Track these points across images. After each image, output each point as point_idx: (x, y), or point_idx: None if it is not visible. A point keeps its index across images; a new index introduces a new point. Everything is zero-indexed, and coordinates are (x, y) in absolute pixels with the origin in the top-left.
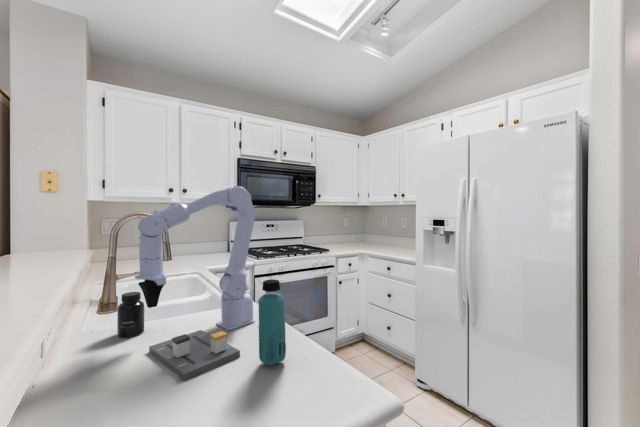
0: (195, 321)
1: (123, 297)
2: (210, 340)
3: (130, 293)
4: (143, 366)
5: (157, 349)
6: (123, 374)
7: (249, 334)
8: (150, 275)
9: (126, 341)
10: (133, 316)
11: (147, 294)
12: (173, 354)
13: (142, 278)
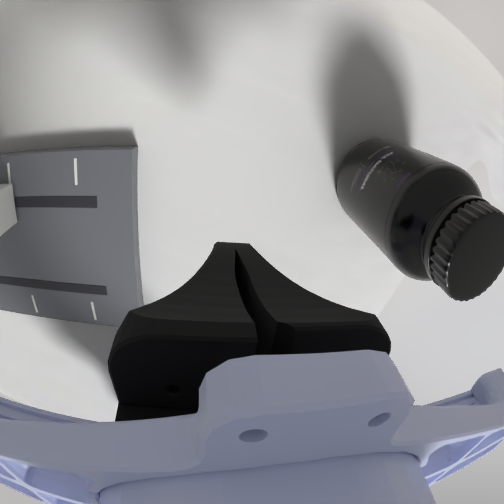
0: None
1: (483, 207)
2: (44, 301)
3: (489, 259)
4: (54, 100)
5: (82, 161)
6: (55, 45)
7: (65, 373)
8: (103, 501)
9: (319, 135)
10: (374, 196)
11: (184, 286)
12: (8, 184)
13: (173, 424)
